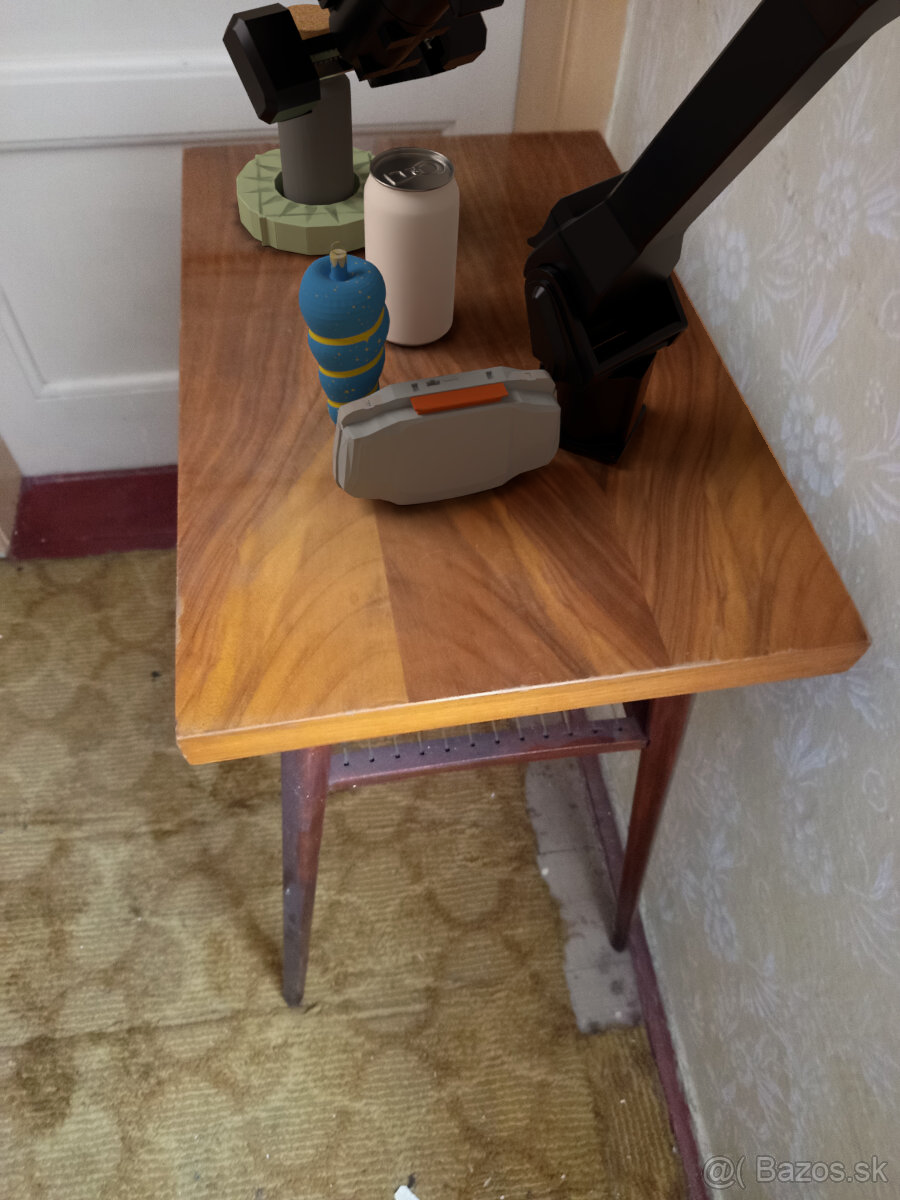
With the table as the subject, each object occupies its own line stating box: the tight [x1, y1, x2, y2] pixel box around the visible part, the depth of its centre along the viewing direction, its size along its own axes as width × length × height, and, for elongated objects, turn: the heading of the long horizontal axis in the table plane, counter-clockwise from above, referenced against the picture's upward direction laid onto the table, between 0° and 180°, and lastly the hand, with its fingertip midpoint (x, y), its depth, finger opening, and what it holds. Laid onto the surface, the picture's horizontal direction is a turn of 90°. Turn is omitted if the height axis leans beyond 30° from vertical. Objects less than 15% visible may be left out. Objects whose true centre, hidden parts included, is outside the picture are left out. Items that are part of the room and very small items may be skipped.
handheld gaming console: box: [332, 365, 561, 506], centre depth 56 cm, size 14×3×8 cm, turn 107°
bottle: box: [277, 3, 354, 206], centre depth 72 cm, size 6×6×15 cm
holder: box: [235, 146, 376, 256], centre depth 77 cm, size 13×13×2 cm
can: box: [364, 146, 461, 347], centre depth 65 cm, size 6×6×12 cm
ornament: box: [298, 242, 390, 426], centre depth 55 cm, size 5×5×15 cm
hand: (320, 96), depth 70 cm, fingers open, 9 cm apart
